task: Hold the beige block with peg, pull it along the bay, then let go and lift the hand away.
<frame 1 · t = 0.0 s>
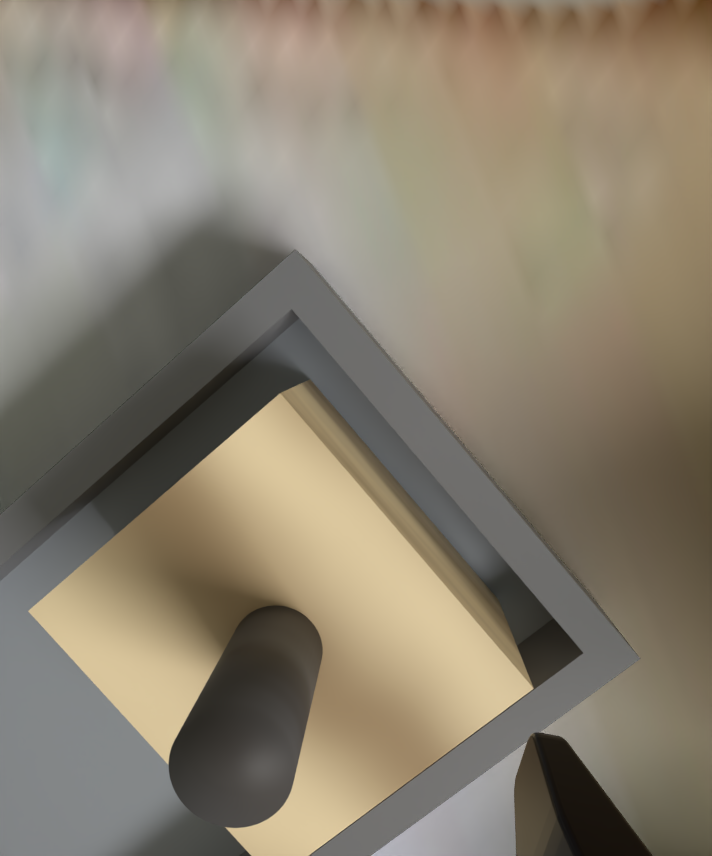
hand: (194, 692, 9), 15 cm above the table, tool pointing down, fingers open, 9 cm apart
bay: (192, 657, 26), on the table
beige block with peg: (280, 640, 18), point 7 cm above the table, slide at 0.0 cm
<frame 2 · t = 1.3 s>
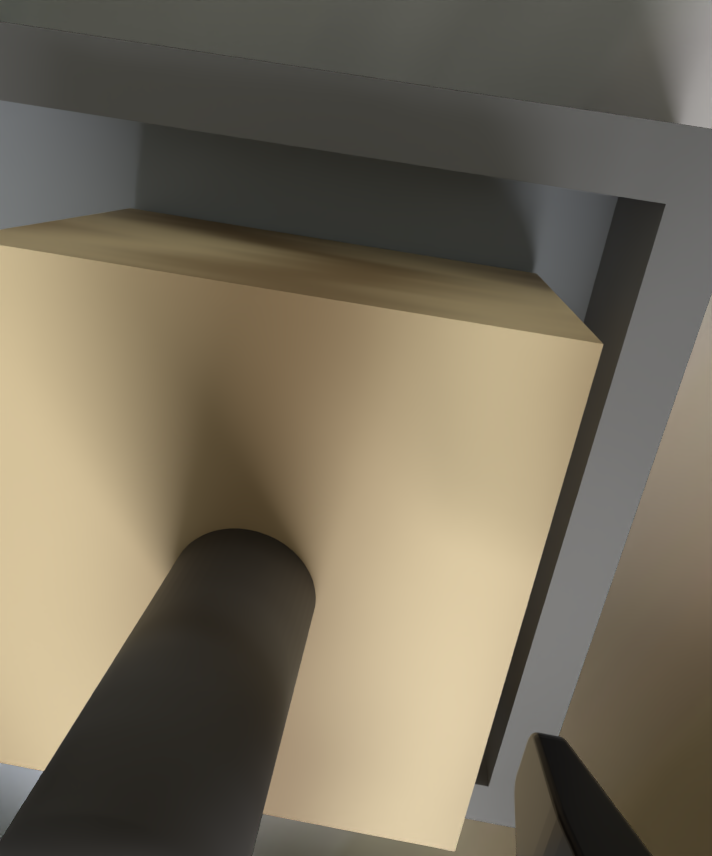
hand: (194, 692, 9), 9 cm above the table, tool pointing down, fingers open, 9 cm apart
bay: (91, 391, 18), on the table
beige block with peg: (250, 574, 11), point 7 cm above the table, slide at 0.0 cm
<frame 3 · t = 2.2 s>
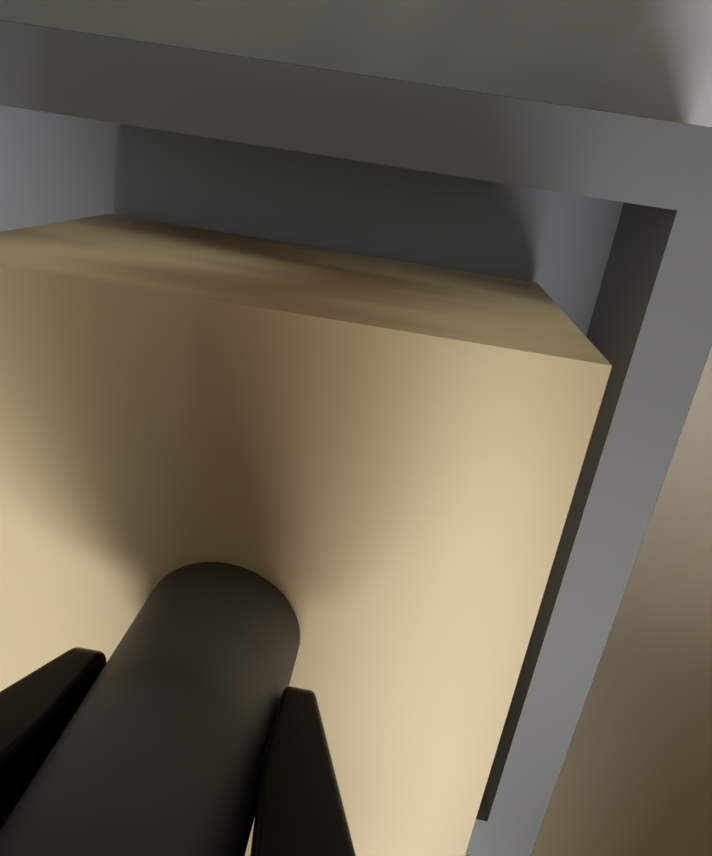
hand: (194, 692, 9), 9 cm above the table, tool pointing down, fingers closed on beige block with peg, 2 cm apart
bay: (71, 404, 17), on the table
beige block with peg: (230, 609, 11), point 7 cm above the table, slide at 0.0 cm, touching gripper
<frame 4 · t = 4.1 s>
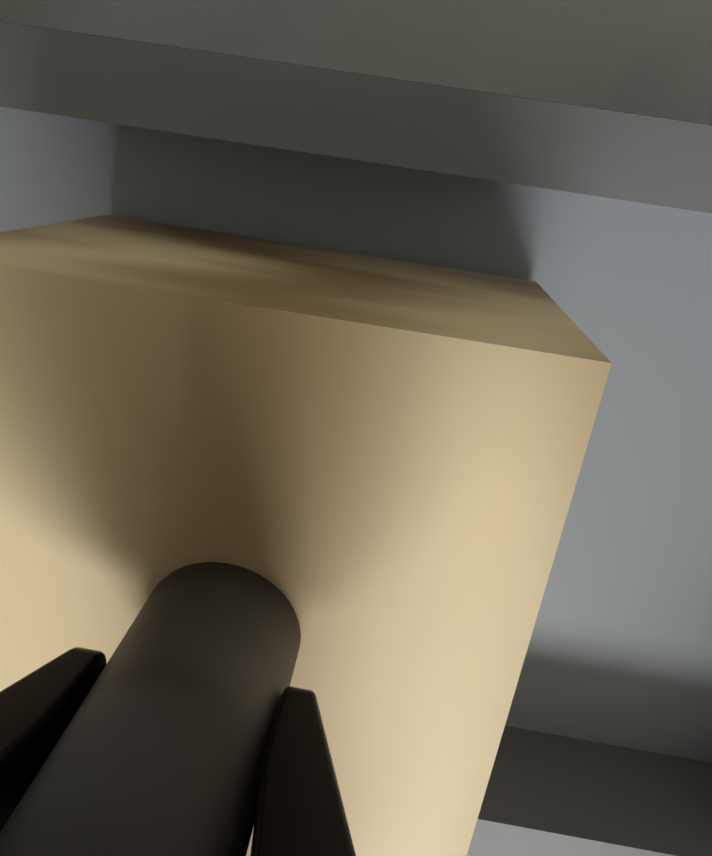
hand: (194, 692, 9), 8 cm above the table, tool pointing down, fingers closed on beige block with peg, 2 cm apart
bay: (318, 447, 17), on the table
beige block with peg: (231, 609, 11), point 7 cm above the table, slide at 6.4 cm, touching gripper
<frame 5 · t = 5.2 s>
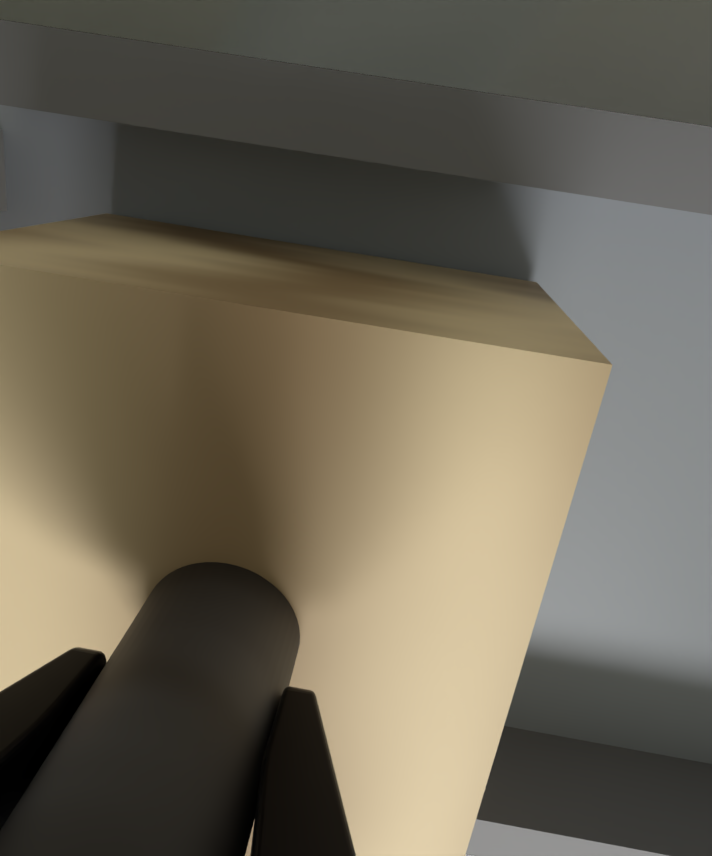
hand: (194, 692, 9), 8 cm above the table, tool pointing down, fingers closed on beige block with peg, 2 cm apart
bay: (476, 474, 17), on the table
beige block with peg: (230, 609, 11), point 7 cm above the table, slide at 10.4 cm, touching gripper
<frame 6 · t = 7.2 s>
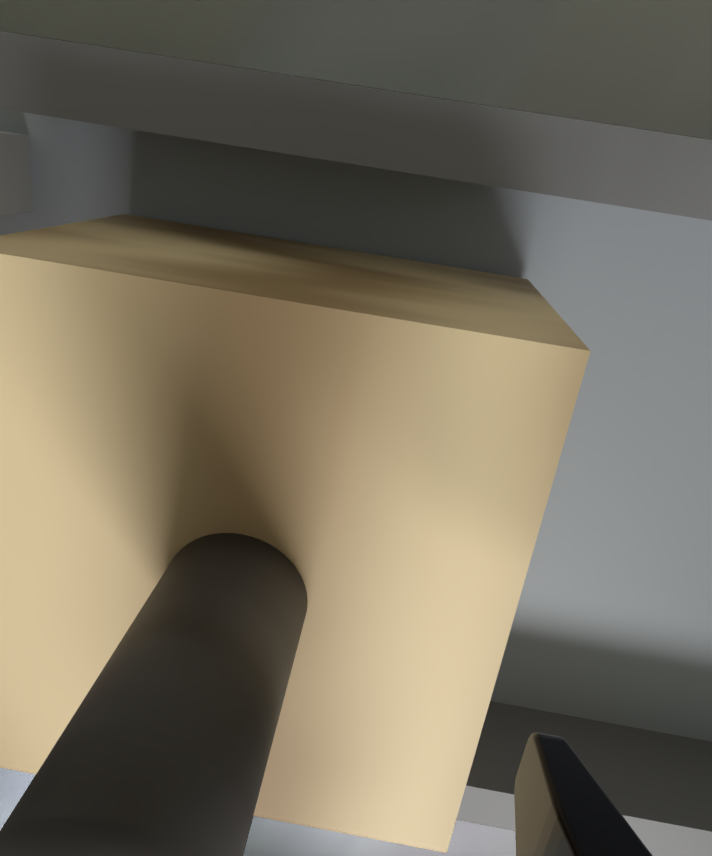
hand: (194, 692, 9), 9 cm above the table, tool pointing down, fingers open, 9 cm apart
bay: (473, 462, 18), on the table
beige block with peg: (243, 578, 12), point 7 cm above the table, slide at 10.5 cm
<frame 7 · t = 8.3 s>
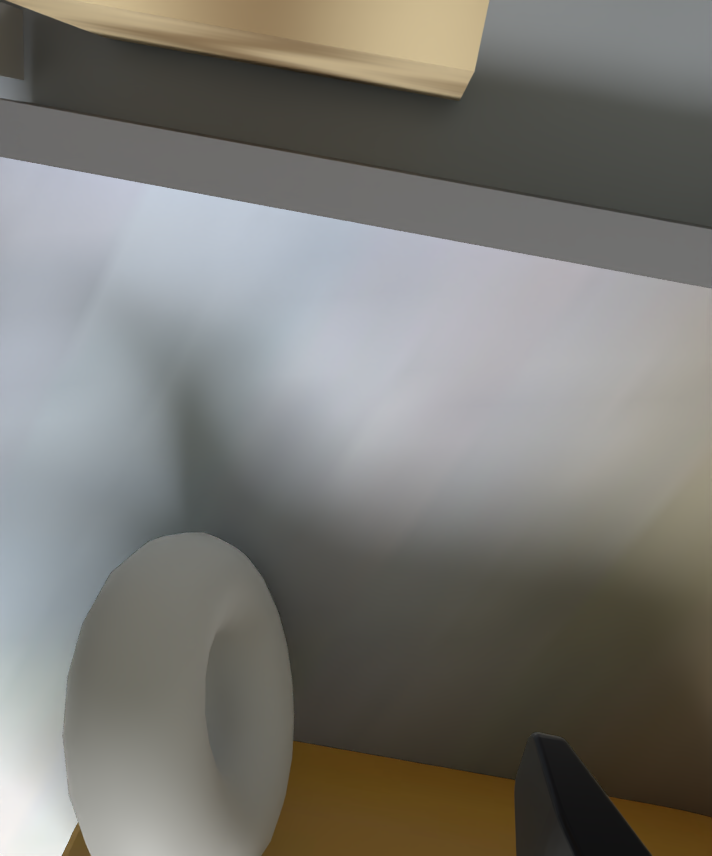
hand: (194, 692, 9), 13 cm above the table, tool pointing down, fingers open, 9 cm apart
donut: (243, 596, 24), on the table
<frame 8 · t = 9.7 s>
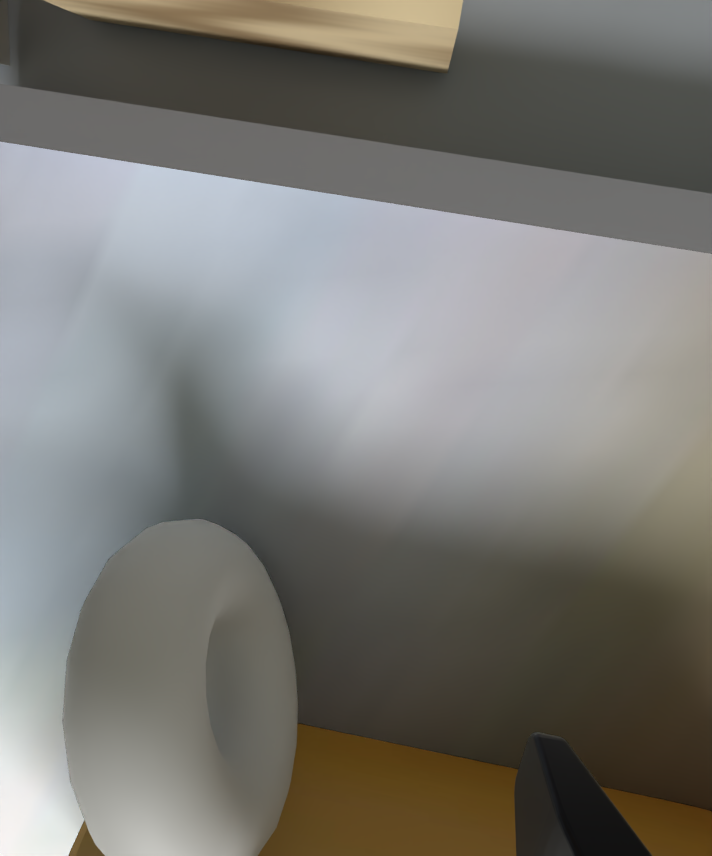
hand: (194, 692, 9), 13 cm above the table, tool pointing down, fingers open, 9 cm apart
bread: (419, 854, 29), on the table
donut: (244, 585, 24), on the table
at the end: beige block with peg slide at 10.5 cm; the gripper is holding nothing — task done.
